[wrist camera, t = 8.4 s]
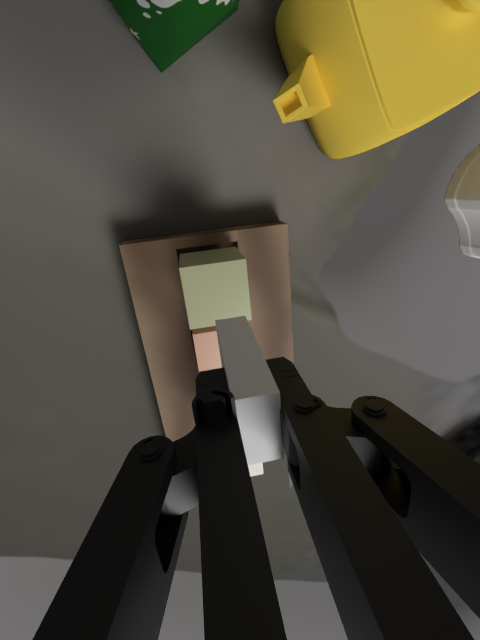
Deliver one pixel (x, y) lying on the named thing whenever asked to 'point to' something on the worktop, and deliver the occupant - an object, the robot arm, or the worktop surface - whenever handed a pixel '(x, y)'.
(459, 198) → the jar
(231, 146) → the worktop surface
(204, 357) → the key terracotta
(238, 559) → the robot arm
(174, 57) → the milk carton
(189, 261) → the key olive
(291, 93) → the teapot
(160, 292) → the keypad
